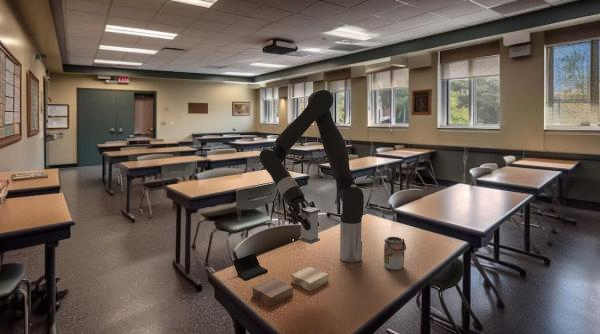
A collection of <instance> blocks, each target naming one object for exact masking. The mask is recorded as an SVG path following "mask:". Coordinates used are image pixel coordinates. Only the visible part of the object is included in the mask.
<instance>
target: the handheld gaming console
mask: <svg viewBox="0 0 600 334" xmlns="http://www.w3.org/2000/svg"><path fill="white" fill-rule="evenodd" d="M232 264H233V266H234V269H235V271H236V273H237V274H236V275H237V277H239V278H241V279H242V280H245V281H248V280H250V279H253V278H256V277H258V276H261V275H264V274H266V273H268V269H267V268H265V267H263V266H261V264H260V262H259V260H258V257H257V255H256V253H252V254H248V255H245V256H243V257H239V258H237V259H233V261H232Z"/></svg>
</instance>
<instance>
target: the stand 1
mask: <svg viewBox="0 0 600 334" xmlns="http://www.w3.org/2000/svg"><path fill="white" fill-rule="evenodd" d="M293 295H294V286H292V285H290V284H288V283H286V282H285V281H284V282H283V280H280V279H277V278H275V277H273V278H270V279H268V280H266V281H264V282H262V283H259V284H257V285H255V286H253V287H252V296H253V297H255V298H257V299H258V300H260V301H262V302H264V303H265V304H267V305H269V306H270V307H273V306H275V305H276V304H278V303H281V302H282V301H284V300H286V299H288V298H290V297H292V296H293Z"/></svg>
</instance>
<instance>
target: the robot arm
mask: <svg viewBox="0 0 600 334" xmlns="http://www.w3.org/2000/svg"><path fill="white" fill-rule="evenodd" d="M333 104H334V97H333V94H332V92H330V91H329V90H327V89H323V88H322V89H317V90H316V91H313V92H312V93H311V94H310V95H309V97H308V99H307V106H306V107H305V108H304V110H302V112H301V113H300V114H299V115H298V116H297V117H296V118H295V119H293V121H291V122H290V123H289V124H288V125H287V126H286V127H285V129H284V130H283V131H282V132H281V133H280V134H279V135H278V136H277V138H276V140H275V146H274V148H273V149H272V148H269V147H267V148H264V149H262V150H261V151H260V153H259V156H258V157H259V161H260V163H261V165H262V166H263V168H264V169H265V170H266V171H267V173H268V175H270V177H271V179H272V181H273V182H274V184H275V186H276V187H277V190H278V192H279V194H280V195H281V198H283V201H284V202H285V203H286V205H287V206H288V207H287V209H286V210H285V213H286V214H287V215H288V217H289V218H291V219H292V220H293V221H294V222H295V223H300V225H301V224H302V225H303V227H304V229H305V230H306V231H308V230H310V229H311V227H310V225H309V223H308V222H307V220H305V217H304V215H303V213H302V212H301V210H300V212H299V209H303V208H304V207H313V208H317V206H316V205H315V201H314V200H312V201H311V202H310V201H308V200H306V198H305V193H304V192H303V191H302V189H301V188H300V186H299V185H298V183H297V182H296V180H295V179H294V178H293V176H292V175H291V173H290V171H289V170H288V169H287V167H285V166H284V165H283V162H284V160H285V159H286V157H287V155H288V153H289V152H290V150H291V149H292V148H293V147H294V146H295V144H296V143H297V142H298V141H299V139H301V138H302V137H303V135H304V134H305V132H306V131H307V130H308V129H309V128H310V127H311V126H312V125H313V124H314V123H316V126H317V129H318V133H319V137H320V140H321V143H322V146H323V150H324V153H325V155H326V159H327V160H328V161H327V162H328V164H329V167H330V169H331V170H332V173H333V176H334V178H335V182H336V183H335V184H336V188H337V192H338V193H337V194H338V196H339V199H340V200H341V203H342V205H341V206H342V209H341V210H342V211H341V213H340V217H339V218H340V219H339V220H340V221H339V222H340V224H339V225H340V227H339V228H340V229H339V258H340V261H342V262H346V263H357V262H363V239H362V224H363V223H362V221H363V220H362V219H363V216H364V205H365V198H364V196H365V195H364V192H363V190H362V188H360V187H359V186H358V185H357V184H356V183H355V180H354V178H353V175H352V172H351V167H350V156H349V151H348V148H347V145H346V142H345V139H344V138H343V134H342V133H341V132H340V130H339V128H338V127H337V125H336V123H335V121H334V119H333V116H332V111H331V108H332V106H333ZM318 227H320V223H319V221H318Z"/></svg>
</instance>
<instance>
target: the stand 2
mask: <svg viewBox="0 0 600 334" xmlns="http://www.w3.org/2000/svg"><path fill="white" fill-rule="evenodd" d="M329 278H330V277H329V274H328V273H326V272H324V271H323V270H319V269H317V268H314V267H311V266H306V267H305V268H303V269H300V270H298V271H296V272H294V273H291V275H290V282H291V283H292V284H294V285H295V286H296V285H297V286H299V287H301V288H303V289H305V290H307V291H308V292H309V291H310V292H311V291H314V290H316V289H318V288H319V287H321V286H323V285H324V284H327V283H328V282H329V281H330V280H329Z"/></svg>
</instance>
